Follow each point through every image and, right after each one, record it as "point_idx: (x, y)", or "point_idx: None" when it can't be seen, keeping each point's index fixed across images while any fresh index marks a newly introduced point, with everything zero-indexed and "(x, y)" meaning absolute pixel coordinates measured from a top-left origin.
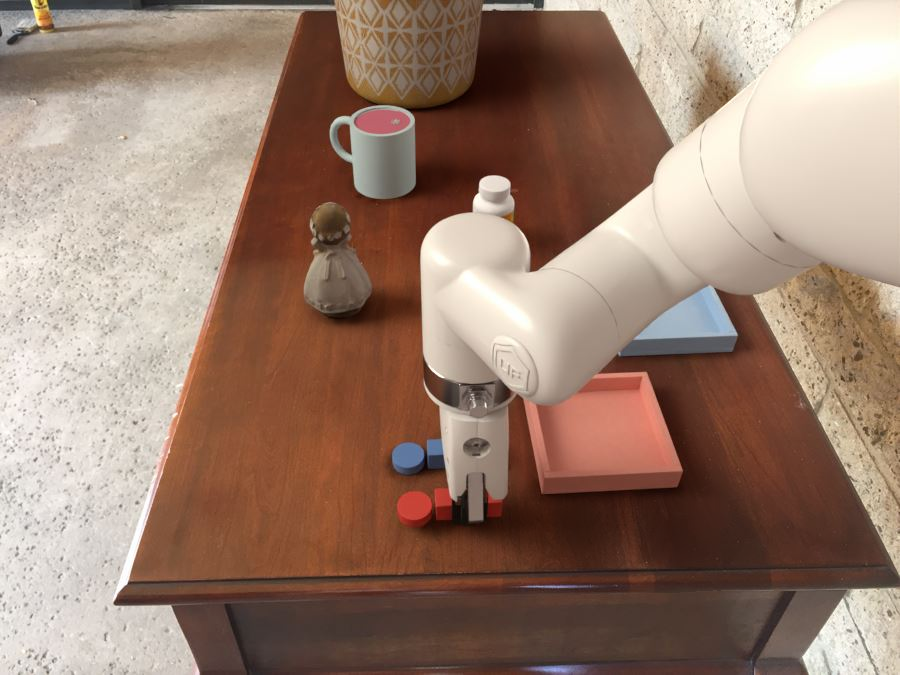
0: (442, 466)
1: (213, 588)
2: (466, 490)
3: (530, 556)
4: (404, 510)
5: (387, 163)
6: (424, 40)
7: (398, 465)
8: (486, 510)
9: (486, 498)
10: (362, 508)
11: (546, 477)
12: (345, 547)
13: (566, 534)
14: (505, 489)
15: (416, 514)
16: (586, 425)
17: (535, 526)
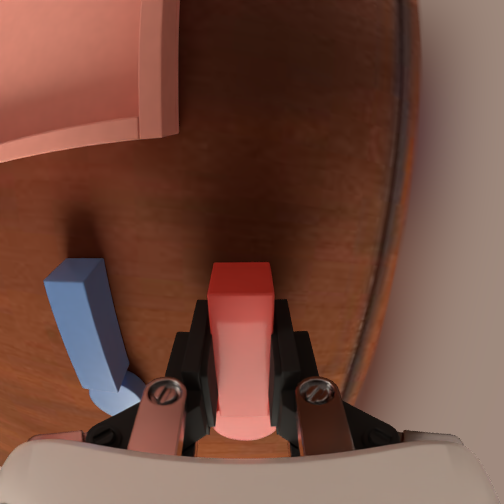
0: (121, 346)
1: None
2: (294, 436)
3: (355, 189)
4: (256, 434)
5: None
6: None
7: None
8: (292, 329)
9: (343, 406)
10: (218, 436)
11: (160, 131)
12: (283, 446)
13: (305, 90)
14: (495, 492)
15: (267, 422)
16: (5, 32)
17: (276, 162)
